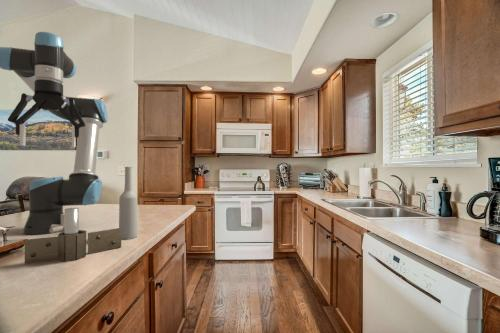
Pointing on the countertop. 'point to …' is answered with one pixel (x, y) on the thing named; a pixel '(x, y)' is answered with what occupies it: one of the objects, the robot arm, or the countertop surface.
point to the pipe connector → (58, 226)
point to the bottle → (128, 208)
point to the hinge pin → (71, 221)
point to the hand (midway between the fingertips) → (48, 146)
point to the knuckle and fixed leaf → (56, 248)
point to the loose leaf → (104, 240)
